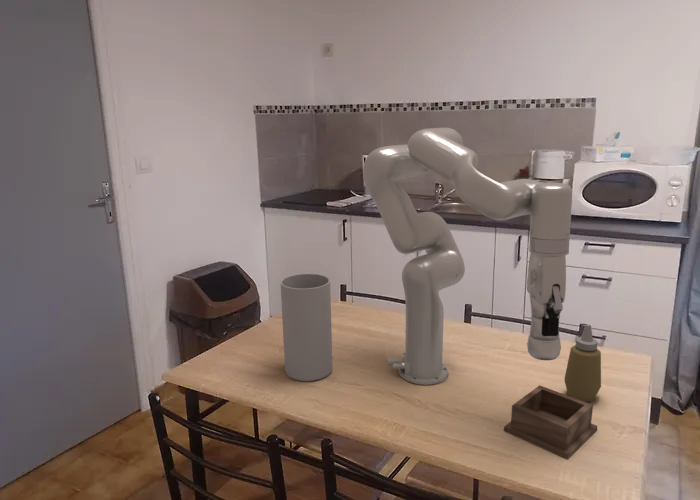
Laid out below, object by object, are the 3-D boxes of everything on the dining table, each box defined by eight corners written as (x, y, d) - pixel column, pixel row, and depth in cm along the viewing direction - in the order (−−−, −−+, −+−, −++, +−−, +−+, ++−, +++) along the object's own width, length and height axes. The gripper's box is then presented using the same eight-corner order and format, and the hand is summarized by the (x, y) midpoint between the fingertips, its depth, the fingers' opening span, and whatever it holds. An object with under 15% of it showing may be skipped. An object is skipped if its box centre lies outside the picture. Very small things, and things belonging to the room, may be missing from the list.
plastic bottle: (562, 365, 112) (568, 270, 107) (528, 363, 113) (532, 270, 108) (557, 352, 118) (562, 262, 113) (524, 350, 119) (528, 261, 115)
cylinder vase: (342, 369, 145) (340, 280, 139) (307, 387, 136) (303, 292, 130) (310, 356, 154) (306, 270, 147) (275, 372, 145) (270, 282, 138)
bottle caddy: (567, 459, 107) (570, 432, 106) (503, 430, 117) (505, 405, 116) (597, 429, 117) (599, 404, 115) (535, 405, 127) (537, 382, 125)
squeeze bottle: (596, 408, 125) (604, 335, 120) (559, 399, 129) (566, 328, 125) (602, 393, 132) (610, 323, 127) (566, 384, 136) (573, 316, 131)
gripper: (517, 236, 118) (514, 315, 122) (544, 256, 102) (539, 347, 106) (552, 235, 118) (548, 314, 122) (585, 255, 101) (579, 346, 106)
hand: (544, 329), depth 114 cm, fingers closed on plastic bottle, 5 cm apart
